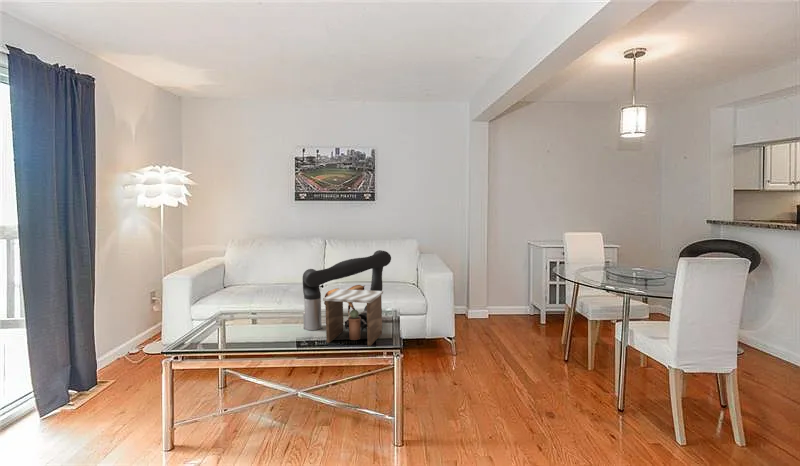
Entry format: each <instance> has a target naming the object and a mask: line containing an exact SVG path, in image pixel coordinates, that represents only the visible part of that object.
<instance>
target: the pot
mask: <svg viewBox="0 0 800 466" xmlns="http://www.w3.org/2000/svg"><path fill="white" fill-rule="evenodd" d="M349 313H350V315H351V316H350V317H349V316H348V318H347V320H349V328H348V333H349V334H348V335H349V336H348V337H349V340H351V341H357V340H361V339H362V338H361V337H362V336H361V335H362V334H361V333H362V330H361V326H360V320H361V317H360V316H358V315H359V314H360V313H359V311H358V310H357V309H355V310H353V309H352V310H351V311H349Z"/></svg>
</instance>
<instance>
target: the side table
mask: <svg viewBox="0 0 800 466" xmlns="http://www.w3.org/2000/svg"><path fill="white" fill-rule="evenodd" d="M348 289H349V288H347V289H346V288H345V289H344V288H343V289H342V288H339V290H337V291H335V292H333V293H332V294H330V295H328V296H326V297H325V296H324V297H323V299H322V301H325V304H324V306H325V335H326V336H325V338H326V339H325V340H326V341H325V342H326V343H328V344H330V343H331V342H332V341H333V340H335V339H336V338H337V337H338V336H340V335H341V334H342V333H344V332H345V330H344V328H345V326H344V303H347V302H353V303H361V304H362V303H363V304H366V305H367V328H366V330H367V331H366V332H367V334H366V335H367V338H366V339H367V346H368V347H371V346H372V345H373V344H374V343H375V342H376V341H377V339H379V337H381V336H382V334H383V321H382V320H383V319H382V318H383V317H382V315H383V309H382V307H383V306H382V302H383V301H382V295H383V294H384V291H383V290H382V291H370V290H366V289H364V290H348Z"/></svg>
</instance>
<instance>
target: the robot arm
mask: <svg viewBox="0 0 800 466" xmlns="http://www.w3.org/2000/svg"><path fill="white" fill-rule="evenodd" d="M391 260H392V256H391V254H390V252H388V251H386V250H379V249H378V250H376V251H374V253H373V254H372V255H369V256H365V257H356V258H350V259H346V260H342V261H340V262H337V263H335V264H334V265H331V266H330V267H328V268H323V269H318V270H316V269H313V268H308V269H306V270H305V271H304V272H303V274H302V292H303V299H304V300H303V301H304V303H303V306H304V311H303V313H302V315H303V316H302V317H303V319H302V320H303V329H304V330H307V331H316V330H320V329H322V327H323V326H322V325H323V323H322V322H323V321H322V320H323V319H322V294H321V289H320V286H321V285H324V284H326V283H329V282H331V281H335V280H339V279H344V278H347V277H350V276H351V277H352V276H354V275H357V274H360V273H363V272H366V271H369V270H372V271H371V283H370V288H369V289H370V291H383V271H384V267H387V266H388V265H389V264H390V263H391V262H392V261H391ZM363 309H364V310H363V311H362V312H360V313H359V315H358V316H360V317H361V320H360V326H361V331H363V330H364V329H367V304H366V305H365V306H364V308H363ZM344 328H345V329H346V330H347V329H348V330H349V320H348V319H346V320H345V321H344Z"/></svg>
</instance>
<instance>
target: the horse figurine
mask: <svg viewBox="0 0 800 466" xmlns="http://www.w3.org/2000/svg"><path fill="white" fill-rule="evenodd" d="M365 286H366V285H361V284H356V285H353V286H351V287H349V288H347V289H348V290H365ZM339 289H340V288H339V287H338V288H334V289H333V288H332V289H330V290H328V291H327V292H326V293H325V294H324V298H325V297H326V296H328V295H330V294H332V293H333V292H335V291H337V290H339ZM346 303H347V304H348V305H347V315H348V317H350V316H351V315H350V312H351V311H350V309H352V310H356V308H355V306H354V302H346ZM323 304H324V305H325V301H324V302H323Z"/></svg>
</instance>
